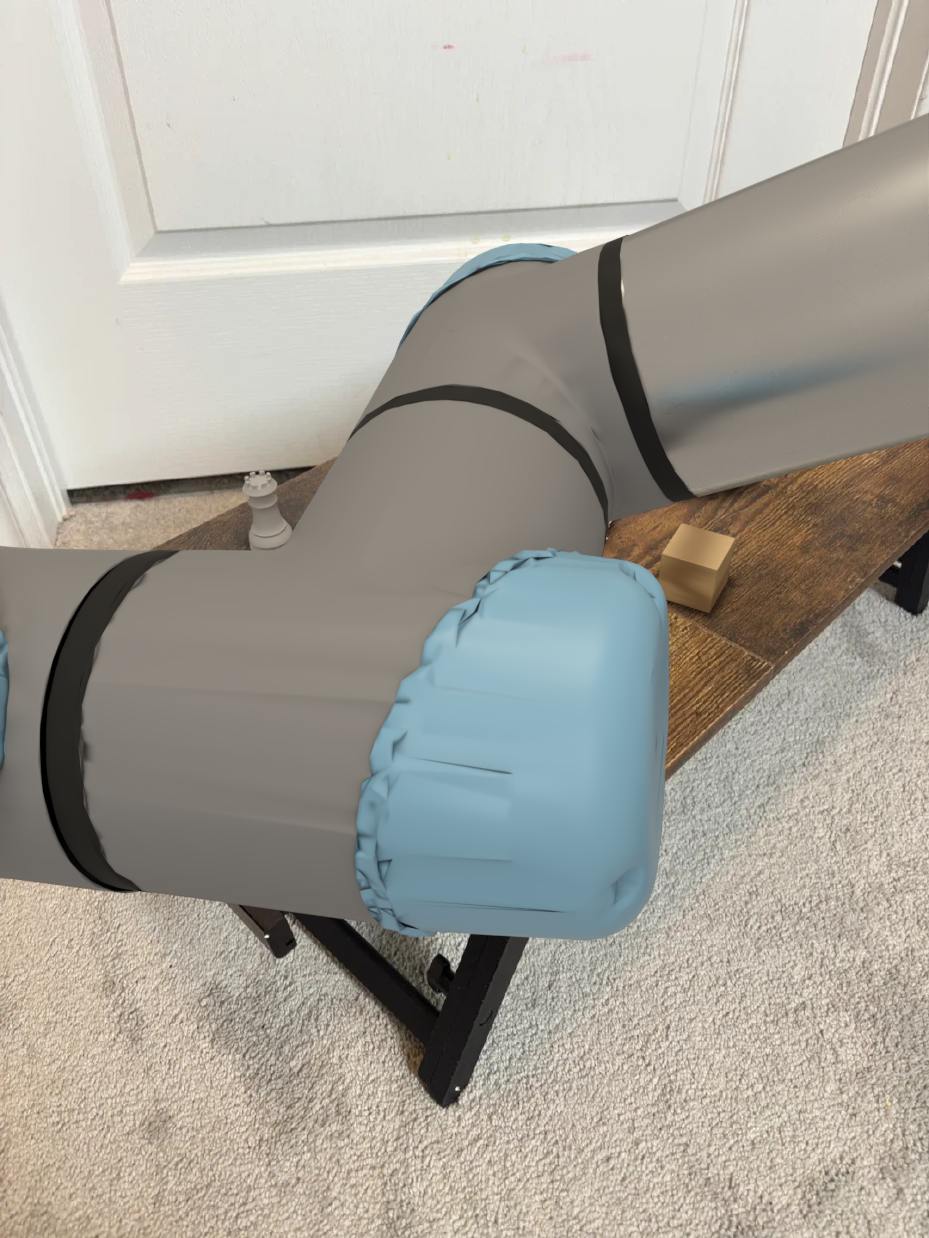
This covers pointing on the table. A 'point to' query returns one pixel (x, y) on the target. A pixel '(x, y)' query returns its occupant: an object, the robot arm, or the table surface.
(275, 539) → the rook chess piece
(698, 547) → the maple block
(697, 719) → the table surface
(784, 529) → the table surface
